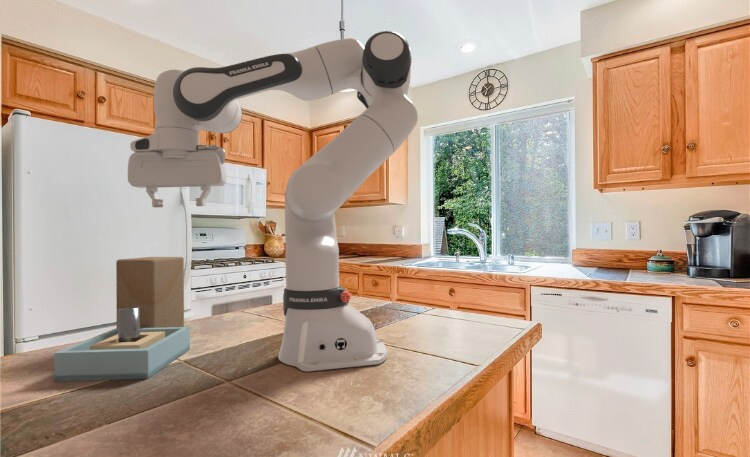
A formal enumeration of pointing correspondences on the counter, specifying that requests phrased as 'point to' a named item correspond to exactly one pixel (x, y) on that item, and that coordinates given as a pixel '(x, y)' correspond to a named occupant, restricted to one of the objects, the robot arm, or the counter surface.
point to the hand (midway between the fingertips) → (179, 206)
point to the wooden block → (152, 289)
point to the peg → (129, 324)
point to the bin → (121, 355)
